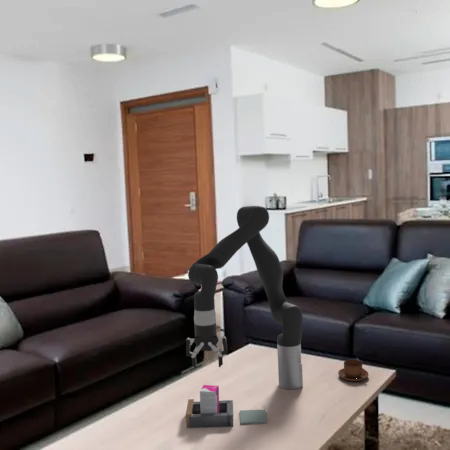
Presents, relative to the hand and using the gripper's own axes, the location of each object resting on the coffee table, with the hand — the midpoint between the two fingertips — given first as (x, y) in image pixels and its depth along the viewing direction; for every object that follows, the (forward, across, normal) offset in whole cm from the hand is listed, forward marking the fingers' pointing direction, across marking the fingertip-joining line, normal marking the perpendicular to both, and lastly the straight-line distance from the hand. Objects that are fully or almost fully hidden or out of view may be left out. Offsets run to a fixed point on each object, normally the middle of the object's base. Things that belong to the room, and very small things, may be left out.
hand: (207, 366), depth 183 cm
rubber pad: (+19, -15, 0) cm, 24 cm away
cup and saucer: (+19, -57, -31) cm, 68 cm away
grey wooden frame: (+19, 0, 0) cm, 19 cm away
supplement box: (+19, 0, 0) cm, 19 cm away
